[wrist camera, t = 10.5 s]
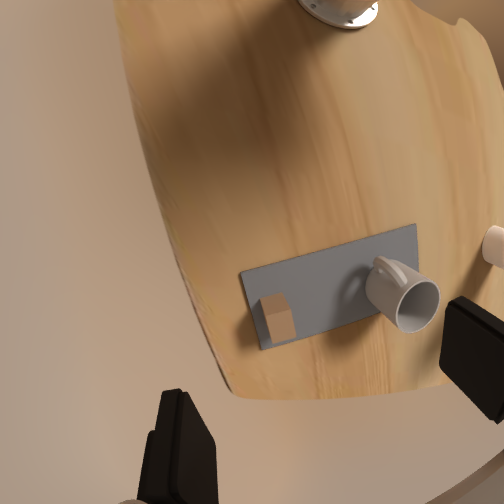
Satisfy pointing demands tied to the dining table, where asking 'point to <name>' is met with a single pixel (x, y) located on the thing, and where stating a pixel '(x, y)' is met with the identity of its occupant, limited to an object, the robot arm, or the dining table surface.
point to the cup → (402, 294)
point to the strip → (321, 286)
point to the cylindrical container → (494, 246)
